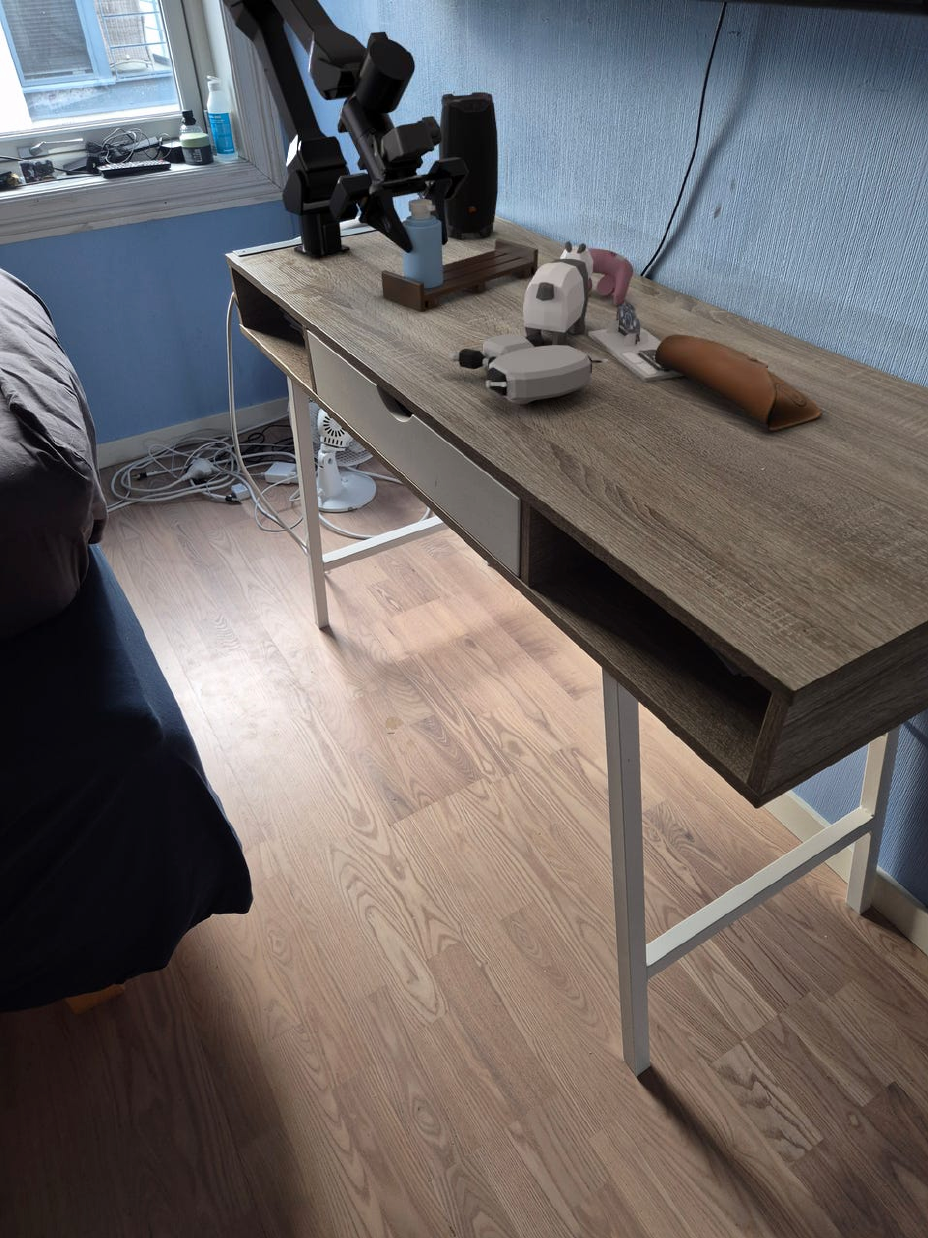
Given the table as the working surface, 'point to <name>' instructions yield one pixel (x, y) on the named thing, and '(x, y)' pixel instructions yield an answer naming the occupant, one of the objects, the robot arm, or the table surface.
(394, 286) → the rack
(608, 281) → the video game controller
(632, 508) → the table surface
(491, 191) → the portable speaker
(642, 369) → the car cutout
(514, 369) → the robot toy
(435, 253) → the bottle
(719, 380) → the sunglasses case
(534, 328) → the giant panda
